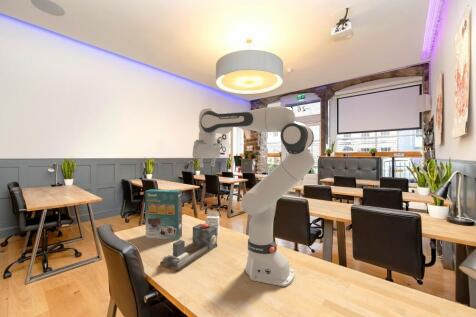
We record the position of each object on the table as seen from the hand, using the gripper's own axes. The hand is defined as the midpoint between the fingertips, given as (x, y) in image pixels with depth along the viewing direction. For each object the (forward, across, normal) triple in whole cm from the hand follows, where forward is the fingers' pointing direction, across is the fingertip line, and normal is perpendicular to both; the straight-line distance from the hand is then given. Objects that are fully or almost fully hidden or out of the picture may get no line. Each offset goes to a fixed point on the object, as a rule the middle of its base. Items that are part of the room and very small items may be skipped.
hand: (207, 166), depth 115 cm
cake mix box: (+48, +6, +39) cm, 62 cm away
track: (+47, -5, +7) cm, 48 cm away
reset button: (+36, +7, +7) cm, 37 cm away
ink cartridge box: (+48, +26, +14) cm, 56 cm away
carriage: (+46, -14, +7) cm, 48 cm away
